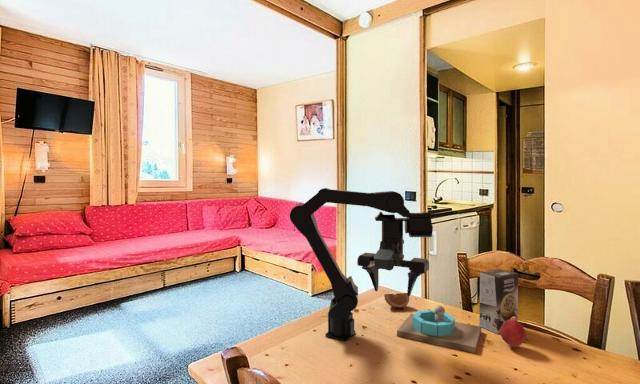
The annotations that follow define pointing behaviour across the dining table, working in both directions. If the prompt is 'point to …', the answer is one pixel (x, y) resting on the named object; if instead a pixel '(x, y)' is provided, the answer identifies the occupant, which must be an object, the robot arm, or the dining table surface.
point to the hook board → (461, 338)
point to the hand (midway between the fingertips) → (392, 293)
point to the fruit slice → (397, 300)
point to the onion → (513, 332)
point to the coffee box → (497, 298)
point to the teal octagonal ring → (433, 323)
